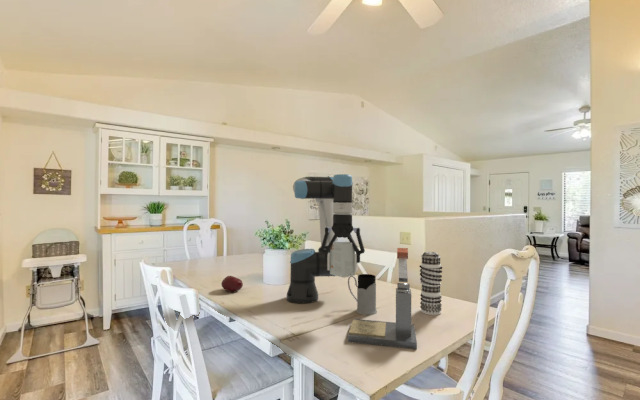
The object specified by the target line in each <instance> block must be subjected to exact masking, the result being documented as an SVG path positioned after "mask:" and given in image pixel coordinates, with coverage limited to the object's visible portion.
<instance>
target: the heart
mask: <svg viewBox="0 0 640 400" xmlns="http://www.w3.org/2000/svg"><path fill="white" fill-rule="evenodd" d="M222 279H223V280H221V287H222V289H224V290H225V291H226V292H229V293H235V292H234V291H236V292H238V291H240V290H241V289H242V288H243V286H244V283H243V280H241V278H238V277H235V276H232V275H227V276H226V277H224V278H222Z"/></svg>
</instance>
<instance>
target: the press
mask: <svg viewBox="0 0 640 400" xmlns="http://www.w3.org/2000/svg"><path fill="white" fill-rule="evenodd" d="M416 335H417V334H416V327H415V324H414V323H412V290H411V288H410V290H397V287H396V288H395V322H392V321H381V320H369V319H359V318H353V320H352V323H351V325H350V327H349V330H348V335H347V342H348V343H352V342H353V344H365V345H372V346H373V345H374V346H382V347H391V348H400V349H401V348H403V349H410V350H411V349H412V350H417V349H418V342H417V336H416Z"/></svg>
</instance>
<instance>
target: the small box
mask: <svg viewBox="0 0 640 400" xmlns="http://www.w3.org/2000/svg"><path fill="white" fill-rule="evenodd" d="M354 243H355V244H356V242H355V241H354ZM355 254H356V252H355V250H354V248H353V247H352V243H350V241H349V240H348V241H347V240H338V241H335V242H333V244H332V246H331V248H330V274H332V275H336V276H335V277H340V278H343V279H344V278H349V277H350V276H354V277H355V275H356V272H355ZM350 278H351V277H350Z"/></svg>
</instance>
